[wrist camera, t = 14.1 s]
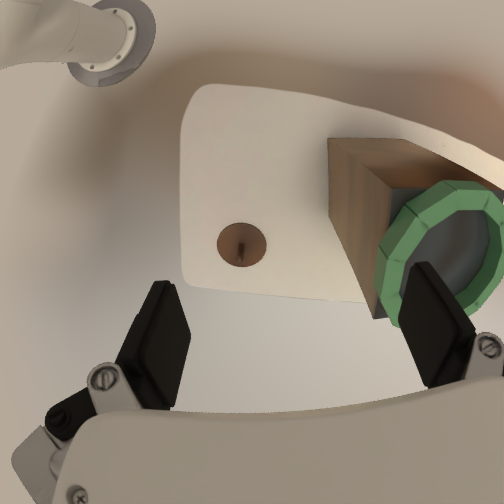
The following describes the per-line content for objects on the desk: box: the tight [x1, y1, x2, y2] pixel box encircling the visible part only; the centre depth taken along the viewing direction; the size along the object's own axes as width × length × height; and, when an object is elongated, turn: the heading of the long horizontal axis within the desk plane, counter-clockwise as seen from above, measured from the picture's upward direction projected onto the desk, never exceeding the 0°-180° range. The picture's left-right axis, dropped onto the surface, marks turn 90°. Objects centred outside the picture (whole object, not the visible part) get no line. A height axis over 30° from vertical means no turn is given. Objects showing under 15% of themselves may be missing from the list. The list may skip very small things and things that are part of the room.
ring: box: [373, 180, 504, 328], centre depth 23 cm, size 16×16×2 cm
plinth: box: [327, 138, 504, 319], centre depth 35 cm, size 14×14×26 cm
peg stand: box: [217, 223, 266, 267], centre depth 51 cm, size 9×9×6 cm
